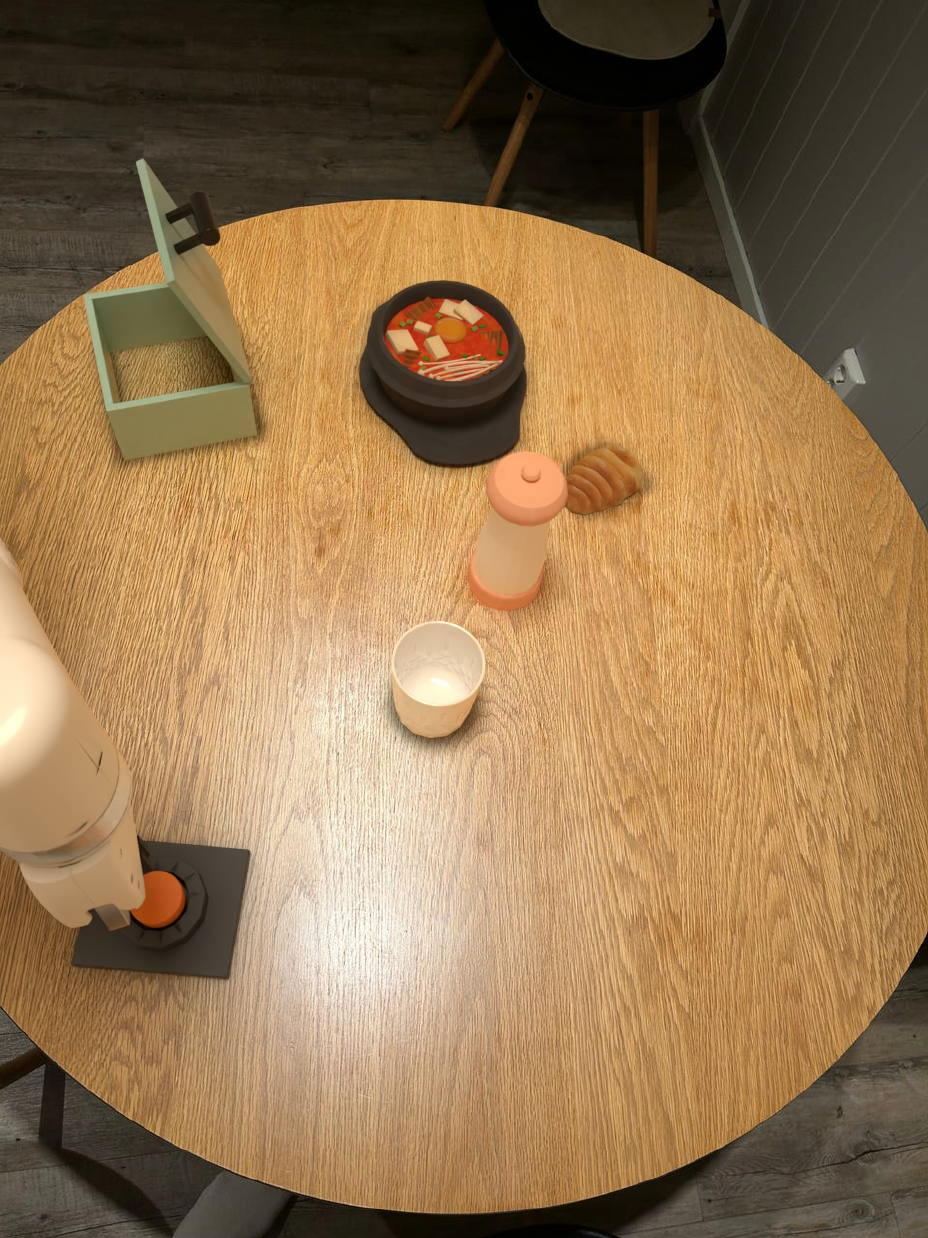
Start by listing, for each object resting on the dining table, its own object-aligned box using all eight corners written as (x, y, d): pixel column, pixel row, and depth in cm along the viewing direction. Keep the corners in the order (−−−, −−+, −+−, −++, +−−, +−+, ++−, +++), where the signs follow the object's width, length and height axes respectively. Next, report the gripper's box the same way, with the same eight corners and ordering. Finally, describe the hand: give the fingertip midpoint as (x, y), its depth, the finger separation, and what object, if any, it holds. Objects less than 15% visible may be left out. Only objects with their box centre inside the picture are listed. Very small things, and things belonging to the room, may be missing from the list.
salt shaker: (453, 568, 94) (472, 450, 77) (516, 543, 96) (548, 423, 79) (487, 627, 92) (514, 517, 75) (551, 600, 94) (591, 487, 77)
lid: (166, 283, 78) (219, 257, 78) (135, 161, 85) (184, 137, 84) (245, 383, 91) (291, 362, 91) (213, 271, 98) (256, 251, 97)
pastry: (585, 535, 98) (593, 514, 94) (541, 493, 100) (547, 471, 96) (646, 489, 101) (655, 468, 98) (602, 450, 103) (609, 427, 100)
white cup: (483, 682, 89) (495, 635, 80) (460, 758, 85) (471, 717, 76) (403, 659, 89) (407, 609, 80) (377, 733, 85) (379, 690, 77)
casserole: (554, 459, 102) (569, 408, 94) (387, 488, 98) (389, 437, 91) (490, 294, 113) (499, 237, 105) (337, 315, 109) (335, 256, 101)
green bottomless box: (127, 467, 96) (106, 411, 89) (104, 355, 103) (82, 294, 95) (258, 442, 99) (249, 385, 92) (228, 334, 106) (217, 273, 98)
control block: (78, 968, 74) (63, 961, 71) (109, 843, 79) (96, 830, 75) (230, 981, 75) (224, 974, 71) (252, 855, 79) (247, 844, 76)
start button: (127, 925, 72) (122, 921, 71) (139, 873, 74) (134, 868, 73) (180, 930, 73) (175, 926, 71) (190, 878, 75) (186, 873, 73)
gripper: (-38, 679, 51) (57, 781, 67) (-10, 955, 45) (88, 994, 61) (104, 646, 53) (164, 753, 69) (150, 908, 47) (203, 958, 63)
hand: (128, 866), depth 65 cm, fingers closed
